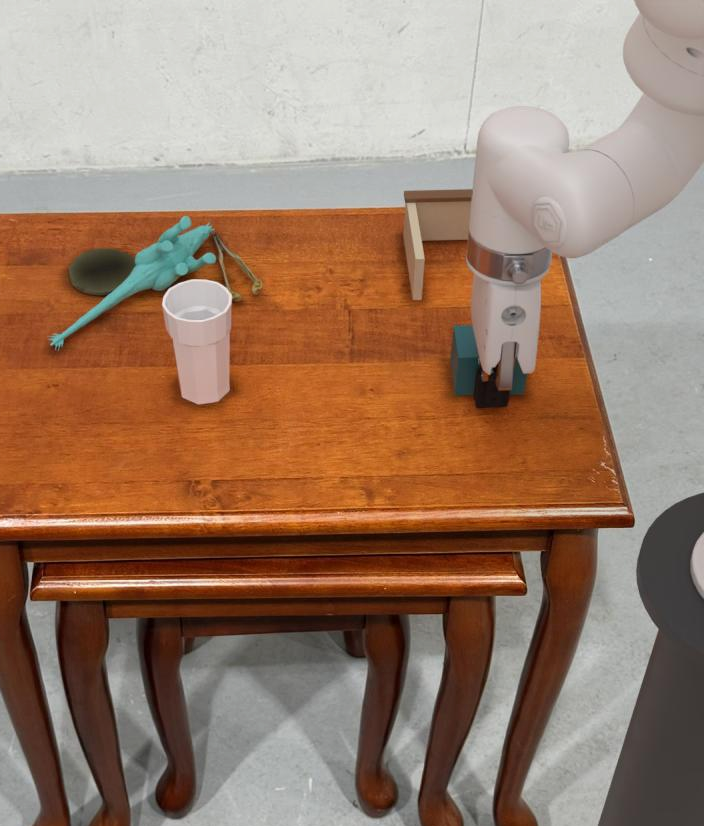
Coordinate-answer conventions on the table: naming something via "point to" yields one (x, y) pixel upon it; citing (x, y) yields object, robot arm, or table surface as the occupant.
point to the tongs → (239, 261)
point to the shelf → (432, 225)
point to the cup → (200, 337)
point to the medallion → (100, 270)
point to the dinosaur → (154, 269)
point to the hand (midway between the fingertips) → (490, 402)
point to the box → (474, 363)
